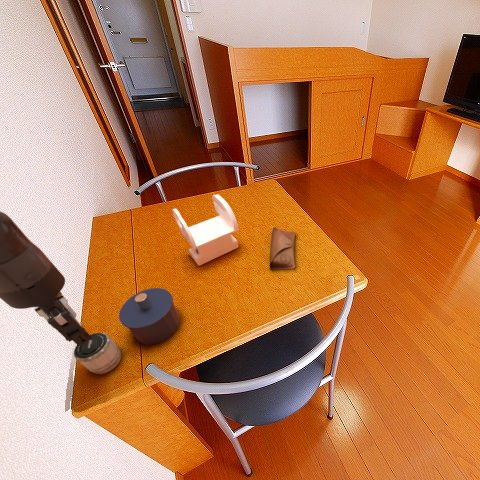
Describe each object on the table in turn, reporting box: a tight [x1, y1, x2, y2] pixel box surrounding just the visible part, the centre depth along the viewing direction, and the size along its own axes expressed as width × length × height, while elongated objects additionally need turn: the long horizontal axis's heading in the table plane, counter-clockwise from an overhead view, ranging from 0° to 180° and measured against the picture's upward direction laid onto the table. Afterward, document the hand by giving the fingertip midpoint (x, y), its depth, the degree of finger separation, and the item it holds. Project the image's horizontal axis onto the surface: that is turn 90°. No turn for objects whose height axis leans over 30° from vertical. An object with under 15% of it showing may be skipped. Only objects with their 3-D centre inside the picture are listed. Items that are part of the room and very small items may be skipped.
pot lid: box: [118, 287, 174, 329], centre depth 64 cm, size 11×11×5 cm
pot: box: [128, 302, 181, 345], centre depth 67 cm, size 10×10×8 cm
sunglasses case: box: [269, 226, 297, 271], centre depth 92 cm, size 18×7×7 cm
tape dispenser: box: [171, 193, 240, 267], centre depth 86 cm, size 14×13×18 cm
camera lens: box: [73, 332, 122, 375], centre depth 60 cm, size 6×6×8 cm
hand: (76, 328), depth 54 cm, fingers open, 8 cm apart
